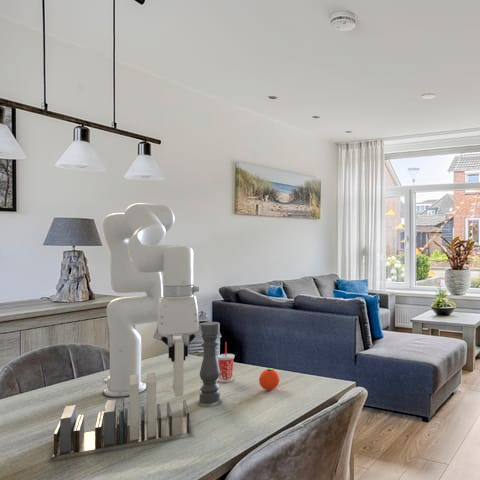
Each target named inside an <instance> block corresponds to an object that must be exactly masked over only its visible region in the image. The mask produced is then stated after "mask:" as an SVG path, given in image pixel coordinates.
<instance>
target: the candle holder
mask: <svg viewBox="0 0 480 480" xmlns="http://www.w3.org/2000/svg"><path fill="white" fill-rule="evenodd" d="M220 325H221V323H220V322H218V321H206V322H201V323H200V329H201V331H202V335H201V338H202V340H203V341H202V342H201V347H202V349H203V358H202V362H201V365H200V369H199V377H200V380H201V382H202V385H201V387H200V388H199V389H200V390H199V398H198V399H199V403H201V404H214V403H217V402H219V401H221V391H220V386H219V384H218V383H217V382H218V380H219V376H220V369H219V365H218V359H217V347H218V346H219V341H218V337H219V334H220V330H221V329H220Z"/></svg>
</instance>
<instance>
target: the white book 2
mask: <svg viewBox="0 0 480 480" xmlns="http://www.w3.org/2000/svg"><path fill="white" fill-rule="evenodd" d="M156 421H157V377H156V372H146V423H147V438H149V437H155V436H156Z"/></svg>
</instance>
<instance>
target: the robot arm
mask: <svg viewBox="0 0 480 480" xmlns="http://www.w3.org/2000/svg"><path fill="white" fill-rule="evenodd" d="M170 207H171V206H168V205H166V204H157V203H142V202H141V203H140V202H139V203H133V204H130V205H129V206H128V207H126V209H125V210H124V212H117V213H111V214H108V215H106V216H105V217H104V219H103V222H102V234H103V238H104V242H105V244H106V246H107V249H108V252H109V268H110V269H109V275H110V287H111V289H112V290H113V292H114V293H116V294H135V293H145V294H146V295H140V296H139V295H138V296H137V295H136V296H135V295H134V296H123V297H117V298H114V299H112V300H111V301H110V302H109V303H108V304H107V305H106V318H107V324H108V332H109V334H108V335H109V375H107V376H106V377H105V378H104V379H102V384H106V385H107V387H106V388H104V390H103V394H104V395H105V396H107V397H110V398H111V397H113V398H115V397H116V398H119V397H121V398H122V397H128V396H129V397H130V375H136V374H139V394H140V393H142V392H144V391H145V390H147V383H145V382H142V337H141V334H140V333H139V332H138V330H136V329H135V328H134V326H137V325H142V324H150V323H157V325H156V326H157V327H156V329H155V330H154V333H153V335H152V337H153V339H154V340H158V341H161V342H163V343H164V344H165V345H166V346H167V347H168V359H170V360H171V363H173V362H174V361H175V347H174V343H173V336H179V335H183V336H182V337H183V342H184V362H185V361H186V357H188V356H189V355H188V354H189V345H190V343H191V342H192V341H193V340H194V339H195V338H198V337H200V336H202V331H201V325H200V324H199V308H198V302H197V296H196V295H195V293H198V292H199V291H200V286H195V285H194V250H193V248H192V247H191V246H186V245H184V246H183V245H181V244H179V245H178V244H161V243H162V242H163V241H164V239H165V237H166V233H168V232H169V231H170V230H171V229H172V228H173V226H174V224H175V214H174V212H173V209H171V208H170ZM162 275H163V276H162Z"/></svg>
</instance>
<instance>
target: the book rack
mask: <svg viewBox="0 0 480 480" xmlns="http://www.w3.org/2000/svg"><path fill="white" fill-rule="evenodd" d="M145 414H146V413H145V405H141V406H140V423H139V439H137V440H131V441H130V425H129V408H128V407H126V408H125V396H121V403H120V409H119V408H118V409H117V414H116V431H115V440H114V444H108V445H104V411H103V410H102V411H98V413H97V417H96V422H95V426H94V430H93V431H86V432H85V414H84V413H83V414H78V415H77V417H76V424H75V427H74V430H73V446H72V449H71V451H68V452H62V453H60V420H59V422H58V423H57V426H56V427H55V430H54V433H53V454H52V458H54V457H55V458H56V457H60V456H67V455H72V454H78V453H84V452H89V451H90V452H91V451H95V450H100V449H106V448H112V447H118V446H124V445H129V444H136V443H141V442H146V441H147V442H148V441H152V440H159V439H163V438H169V437H174V436H175V437H176V436H182V435H187V434H191V430H190V410H189V408H188V403H187V400H186V399H183V401H182V416H180V417H174V418H173V413H172V409H171V404H170V401H167V402H166V419H162V412H161V405H160V403H156V436H155V437H149V438H147V422H146V415H145Z"/></svg>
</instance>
